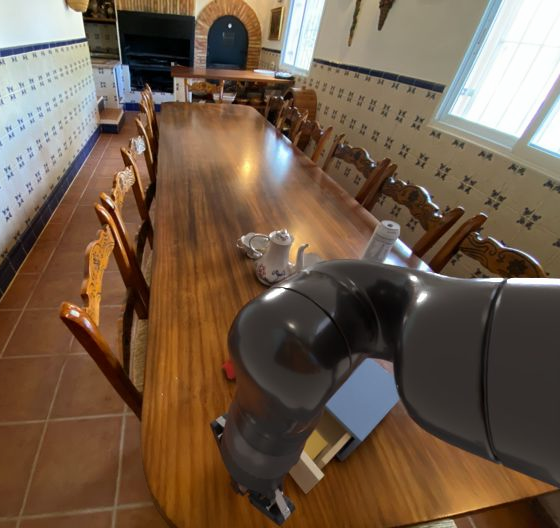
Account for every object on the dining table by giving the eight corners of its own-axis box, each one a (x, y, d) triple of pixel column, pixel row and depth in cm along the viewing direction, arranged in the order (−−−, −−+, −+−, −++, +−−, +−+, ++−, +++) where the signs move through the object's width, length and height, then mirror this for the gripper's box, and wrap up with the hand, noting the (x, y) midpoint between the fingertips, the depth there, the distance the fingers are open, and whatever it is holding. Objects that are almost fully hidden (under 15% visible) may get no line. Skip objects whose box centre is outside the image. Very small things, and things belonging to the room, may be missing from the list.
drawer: (283, 519, 42) (295, 507, 38) (229, 440, 50) (233, 423, 45) (356, 439, 51) (372, 422, 47) (300, 383, 59) (310, 364, 54)
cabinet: (341, 461, 49) (361, 441, 44) (281, 395, 57) (292, 371, 52) (386, 411, 56) (409, 388, 51) (327, 358, 64) (341, 334, 59)
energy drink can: (382, 267, 91) (406, 225, 82) (374, 275, 88) (398, 233, 78) (363, 257, 95) (384, 216, 85) (355, 265, 91) (375, 223, 82)
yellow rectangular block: (322, 451, 48) (328, 443, 46) (306, 467, 46) (312, 460, 44) (285, 410, 53) (289, 401, 51) (270, 423, 51) (273, 415, 49)
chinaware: (325, 274, 89) (345, 225, 80) (319, 307, 76) (342, 252, 67) (238, 247, 97) (247, 199, 88) (219, 272, 84) (228, 219, 75)
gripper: (193, 399, 32) (189, 457, 43) (285, 534, 24) (251, 563, 35) (245, 364, 35) (229, 426, 46) (340, 471, 27) (294, 515, 38)
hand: (239, 485), depth 40 cm, fingers closed
